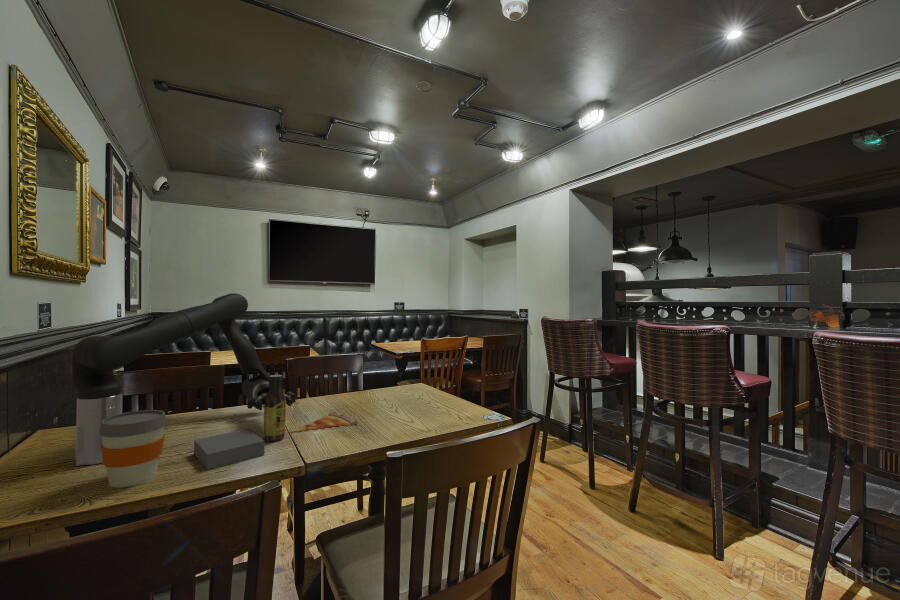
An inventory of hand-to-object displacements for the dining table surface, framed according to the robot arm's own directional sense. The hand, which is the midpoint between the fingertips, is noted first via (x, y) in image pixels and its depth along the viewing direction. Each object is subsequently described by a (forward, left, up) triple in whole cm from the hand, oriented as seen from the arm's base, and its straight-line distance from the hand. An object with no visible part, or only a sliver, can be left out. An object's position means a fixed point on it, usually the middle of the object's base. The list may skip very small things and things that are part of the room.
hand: (275, 404), depth 120 cm
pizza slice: (+19, +6, -12) cm, 23 cm away
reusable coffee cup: (-35, -3, -11) cm, 37 cm away
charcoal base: (-14, -3, -11) cm, 18 cm away
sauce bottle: (0, +1, -11) cm, 11 cm away
